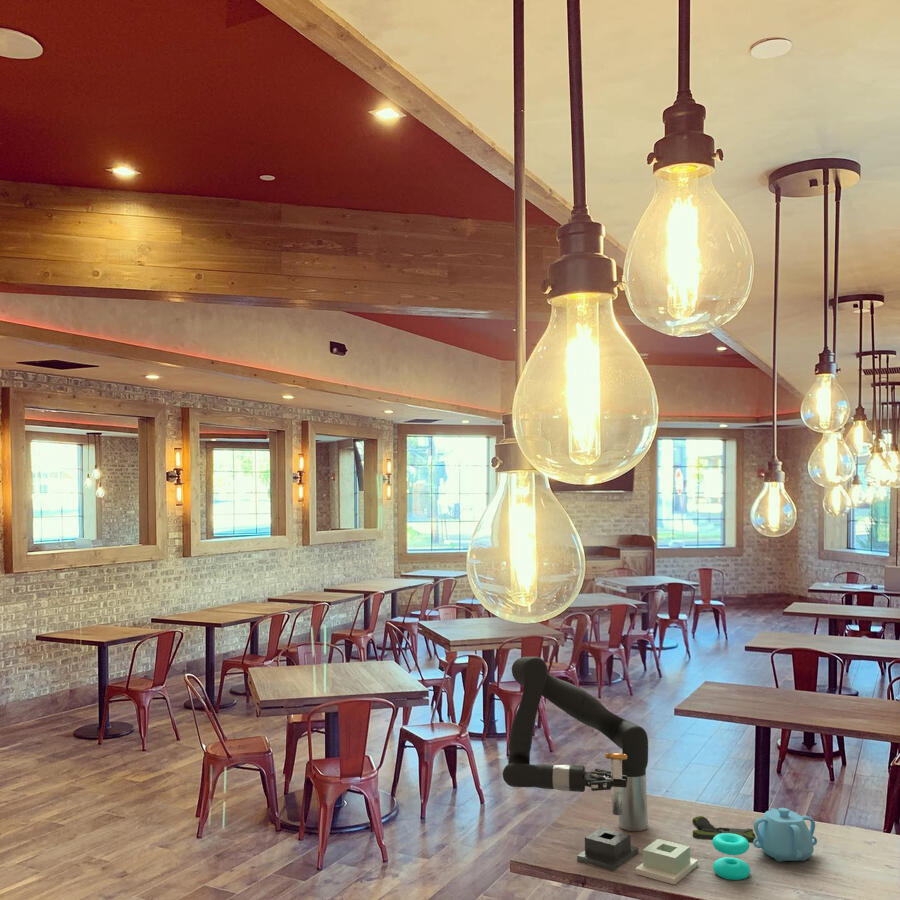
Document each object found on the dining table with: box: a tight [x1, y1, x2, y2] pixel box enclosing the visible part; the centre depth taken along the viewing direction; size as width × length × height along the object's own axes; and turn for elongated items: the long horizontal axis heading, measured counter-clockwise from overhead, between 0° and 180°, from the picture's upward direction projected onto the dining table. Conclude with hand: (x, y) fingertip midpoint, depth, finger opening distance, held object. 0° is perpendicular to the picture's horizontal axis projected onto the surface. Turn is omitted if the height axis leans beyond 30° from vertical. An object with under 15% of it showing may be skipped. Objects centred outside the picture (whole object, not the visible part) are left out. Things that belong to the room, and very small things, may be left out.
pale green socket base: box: [634, 838, 699, 885], centre depth 252 cm, size 16×12×6 cm
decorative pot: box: [752, 807, 818, 863], centre depth 261 cm, size 16×16×14 cm
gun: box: [691, 815, 757, 843], centre depth 279 cm, size 2×19×15 cm
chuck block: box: [576, 827, 640, 872], centre depth 262 cm, size 16×12×6 cm
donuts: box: [711, 833, 751, 881], centre depth 248 cm, size 10×10×10 cm
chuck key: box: [604, 752, 627, 816], centre depth 261 cm, size 7×3×18 cm, turn 76°
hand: (626, 781), depth 260 cm, fingers closed on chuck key, 3 cm apart
